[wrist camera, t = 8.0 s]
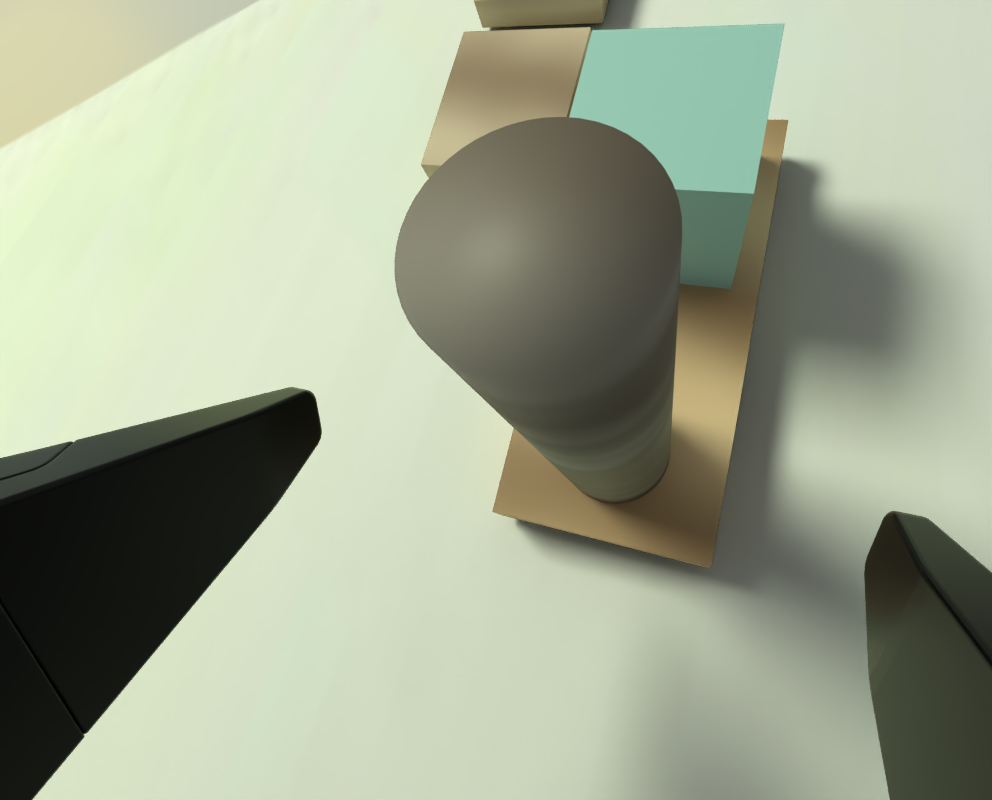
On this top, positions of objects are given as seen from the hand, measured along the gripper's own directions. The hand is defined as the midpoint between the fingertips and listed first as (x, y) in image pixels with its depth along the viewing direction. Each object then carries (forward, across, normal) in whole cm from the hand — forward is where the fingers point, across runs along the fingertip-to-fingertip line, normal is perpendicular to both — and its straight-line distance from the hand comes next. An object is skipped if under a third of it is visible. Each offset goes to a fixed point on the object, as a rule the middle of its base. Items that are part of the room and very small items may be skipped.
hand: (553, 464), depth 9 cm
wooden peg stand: (+10, 0, +2) cm, 10 cm away
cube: (+12, 0, -2) cm, 12 cm away
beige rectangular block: (+18, +6, -7) cm, 20 cm away
